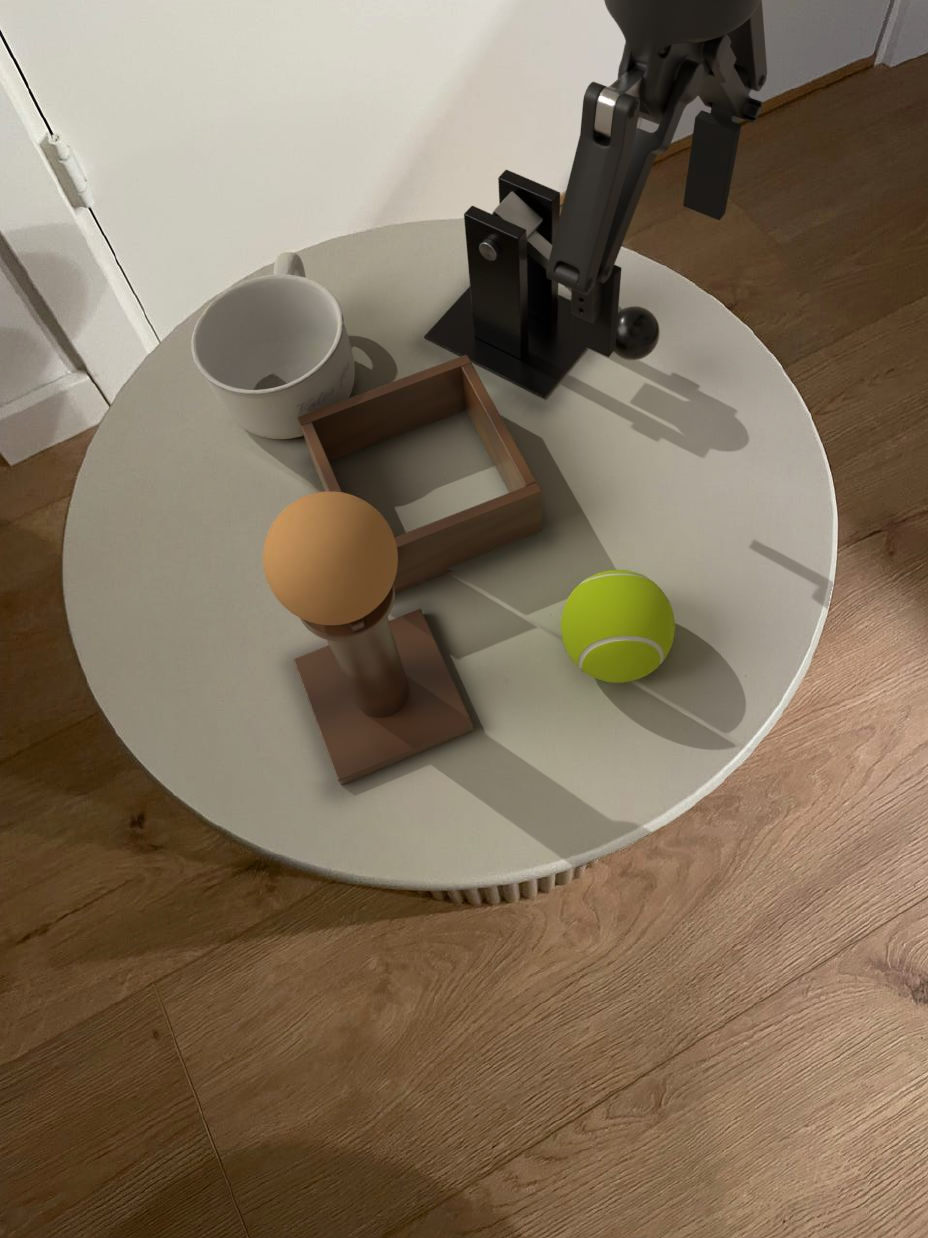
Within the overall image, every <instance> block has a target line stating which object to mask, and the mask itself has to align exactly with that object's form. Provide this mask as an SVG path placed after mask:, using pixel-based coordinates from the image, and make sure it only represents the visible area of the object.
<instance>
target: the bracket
mask: <svg viewBox="0 0 928 1238" xmlns="http://www.w3.org/2000/svg"><path fill="white" fill-rule="evenodd" d="M497 182H498V205H499V204H500V203H501V202H502V201H503V200H504V199H505V198H506V197H507V196H508V195H509V194H510V192H512V191H513V192H514V193H515V194H516V195H517V196H518V197H519V198H521V199H522V200H523V201H524V202H525V203H526V204H527V205H528V206H529V207H530V208H532V209H533V210H534V211H535V212H536V213H537V214H538V215H539V216H540V217H541V218H542V219H543V221H542V222H541V224H540V225H539V227H538V228H537V230H536V231H537V232H538V233H539V234H540V235H541V236H542V237H543V238H545V239H546V240H547V241H548V242H549V243H550V244H551V245H552V246H553V242H554V238H555V234H556V230H557V226H558V222H559V218H560V214H561V192H560V191H557V190H556V189H553V188H551V187H548V186H546V185H544V184H541V183H539V182H537V181H535V180H532V179H529V178H527V177H525V176H523V175H521V174H518V173H515V172H513V171H511V170H509V169H504V171H503V172H501V174H500V175H499V176H498V178H497ZM463 221H464V233H465V243H466V256H467V257H466V258H467V268H468V278H469V286H468V287H467V288H466V290H465V291H464V292H463V293H462V294H461V295H460V296H459V297H458V299H456V301H455V302H454V303H453V304H451V306H450V307H449V308H448V310H446V311H445V313H444V314H443V315H442V316H441V317H440V318H439V319H438V320H437V322H436V323H434V325H433V326H432V327H431V328H430V329H429V330H428V331H427V333H426V334H425V335H423V338H424V339H425V340H427V341H428V342H430V343H433V344H435V345H436V346H438V347H440V348H442V349H444V350H446V351H448V352H450V353H452V354H454V355H456V356H457V357H461V356H464V355H468V357H469V359H470V361H471V363H472V364H474V365H476V366H477V367H480V368H481V369H484V370H485V371H488V372H490V373H491V374H493V375H496V376H498V377H499V378H502V379H503V380H505V381H507V382H510V383H511V384H513V385H515V386H517V387H519V388H521V389H523V390H525V391H527V392H529V393H531V394H532V395H535V396H536V397H539V398H541V399H543V400H544V399H545V398H546V397H547V396H548V394H549V393H551V391H552V390H553V389H554V388H555V386H556V385H557V384H558V383H559V381H560V380H561V379H562V377H564V375H565V374H566V373H567V372H568V371H569V369H570V368H571V367H572V365H573V364H574V363H575V362H576V361H577V360H578V358H579V357H580V355H582V353H583V352H584V351H585V349H586V348H587V347H585V346H583V345H581V344H578V343H576V342H574V341H572V340H571V318H572V312H571V299H569V298H567V297H564V296H563V295H561V294H559V283H557V282H555V281H553V280H551V279H548V278H547V277H546V269H545V268H544V267H543V266H542V265H540V264H539V263H538V262H537V261H536V260H535V259H534V258H533V257H532V256H531V255H529V254H528V253H527V232H526V229H524V228H522V227H519V226H517V225H515V224H513V223H510V222H508V221H506V220H504V219H501V218H499V217H497V216H495V215H493V214H492V213H491V212H488V211H486V210H483V209H481V208H479V207H477V206H475V205H470V207H469V208H468V209H467V210H466V211H465V212H464V214H463Z"/></svg>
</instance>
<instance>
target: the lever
mask: <svg viewBox="0 0 928 1238" xmlns="http://www.w3.org/2000/svg"><path fill="white" fill-rule="evenodd" d="M491 214H493V215H495V216H497V217H499V218H501V219H504V220H506V221H508V222H510V223H513V224H515V225H517V226H519V227H522V228H524V229H526V232H527V253H528V254H529V255H531V256H532V257H533V258H534V259H535V260H536V261H537V262H538V263H539V264H540V265H542V266H543V267H544V268H545V269H546V270H547V266H548V262H549V258H550V254H551V250H552V245H551V244H550V243H549V242H548V241H547V240H546V239H545V238H543V237H542V236H541V235H540V234H539V233H538V232H537V231H536V230H537V228H538V227H539V225H540V224H541V222H542V221H543V219H542V218H541V217H540V216H539V215H538V214H537V213H536V212H535V211H534V210H533V209H532V208H530V207H529V206H528V205H527V204H526V203H525V202H524V201H523V200H522V199H521V198H519V197H518V196H517V195H516V194H515V193H514V192H513V191H512V192H510V194H509V195H508V196H507V197H506V198H505V199H504V200H503V201H502V202H501V203H500V204H499V203H498V205H497V206H496V207H495V208H494V209H493V211H492V213H491ZM564 288H566V289H567V290H568V291H569V292H570V293H571V288H568V287H566V286H564ZM659 324H660V323H659V322H658V319H657V318H656V316H655V315H654V313H652V312H651V311H650V310H649V309H647V308H645V307H642V306H638V305H633V306H627V307H624V308H622V307H621V306H620V305H619V306H618V319H617V332H616V345H615V350H614V352H613V354H614V355H616V357H618V358H620V359H622V360H626V361H632V362H633V361H640V360H642V359H644V358H646V357H648V356H649V355H650V354H651V353H652V352H653V351H654V350H655V348H656V347H657V345H658V343H659V339H660V334H661V330H660V325H659Z"/></svg>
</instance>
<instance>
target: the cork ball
mask: <svg viewBox="0 0 928 1238" xmlns="http://www.w3.org/2000/svg"><path fill="white" fill-rule="evenodd" d="M394 537H395V536H394V533H393V530H392V528H391V526H390V525H389V523H388V521H387V520H386V519H385V518H384V516H383V514H382V513H380V511H378V509H376V508H375V507H374V506H373V505H372V504H370V503H368V501H366V500H364V499H363V498H360V497H358V496H355V495H353V494H351V493H346V492H343V491H342V492H330V491H326V492H325V491H318V492H313V493H310V494H307V495H304V496H302V497H300V498H298V499H296V500H294V501H293V502H291V503H290V504H288V505H287V506H286V507H285V508H284V509H283V510H282V511H281V512H280V513H279V514H278V515H277V516H276V517H275V519H274V520H273V522H272V523H271V525H270V527H269V529H268V531H267V534H266V537H265V540H264V545H263V550H262V564H263V565H262V566H263V572H264V576H265V579H266V582H267V584H268V586H269V589H270V591H271V593H272V594H273V595H274V596H275V599H277V601H278V602H279V603H280V604H281V606H283V607H284V608H285V609H286V610H287V611H289V612H290V613H291V614H293V615H294V616H296V617H297V618H299V619H300V618H301V619H304V620H306V621H308V622H312V623H315V624H321V625H342V624H347V623H350V622H353V621H356V620H358V619H361V618H363V617H364V616H366V615H368V614H369V613H370V612H372V611H373V610H374V609H376V608H377V607H378V606H379V605H380V604H381V603H382V601H383V600H384V599H385V598H386V596H387V595H388V593H389V591H390V589H391V587H392V585H393V582H394V580H395V576H396V573H397V565H398V552H397V546H396V541H395V538H394ZM301 619H300V620H301Z"/></svg>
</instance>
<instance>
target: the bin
mask: <svg viewBox="0 0 928 1238" xmlns="http://www.w3.org/2000/svg"><path fill="white" fill-rule="evenodd" d="M462 412H466V414H467V416H468V418H469V419H470V422H471V423H472V425H473V427H474V429H475V431H476V433H477V435H478V437H479V438H480V441H481V442H482V444H483V446H484V449H485V450H486V452H487V454H488V455H489V457H490V460H491V461H492V463H493V465H494V467H495V469H496V470H497V473H498V474H499V476H500V478H501V480H502V482H503V484H504V486H505V488H506V490H507V491H508V493H505V494H503V495H500V496H497V497H494V498H492V499H489V500H487V501H483V502H482V503H479V504H476V505H473V506H471V507H469V508H466V509H464V510H461V511H459V512H456V513H454V514H451V515H449V516H446V517H444V518H443V517H442V518H441V519H438V520H435V521H433V522H431V523H427V524H425V525H423V526H420V527H417V528H415V529H412V530H410V531H407V532H405V533H402V534H400V535H397V536H394V538H395V541H396V546H397V552H398V565H397V573H396V576H395V580H394V582H393V584H394V589H395V595H396V594H400V593H401V592H404V591H406V590H409V589H411V588H414V587H417V586H419V585H421V584H424V583H426V582H429V581H431V580H435V579H437V578H439V577H442V576H444V575H447V574H449V573H452V572H453V571H452V570H450V569H449V568H451V567H454V566H456V565H458V564H462V563H464V562H467V561H468V560H471V559H474V558H476V557H479V556H481V555H484V554H486V553H490V552H492V551H494V550H496V549H498V548H502V547H504V546H507V545H509V544H512V543H514V542H517V541H519V540H522V539H525V538H527V537H529V536H532V535H536V534H537V533H539V532H542V530H543V492H542V491H543V490H542V488H541V487H540V485H539V483H538V482H537V480H536V478H535V476H534V475H533V473H532V471H531V469H530V467H529V465H528V464H527V462H526V459H525V458H524V456H523V454H522V452H521V451H520V449H519V446H518V445H517V443H516V441H515V439H514V438H513V436H512V434H511V432H510V430H509V429H508V427H507V425H506V424H505V421H504V419H503V417H502V416H501V414H500V412H499V411H498V409H497V407H496V405H495V404H494V401H493V400H492V398H491V396H490V393H489V392H488V390H487V389H486V387H485V385H484V383H483V382H482V380H481V378H480V376H479V374H478V372H477V370H476V369H475V367H474V365H473V363H472V362H471V361H470V359H469V357H468V355H464V356H461V357H460V356H458V357H456V358H453V359H450V360H448V361H445V362H442V363H440V364H437V365H435V366H432V367H430V368H426V369H424V370H421V371H418V372H415V373H412V374H409V375H407V376H405V377H402V378H400V379H397V380H394V381H391V382H389V383H386V384H383V385H380V386H378V387H374V388H373V389H370V390H367V391H364V392H361V393H359V394H356V395H353V396H351V397H350V396H349V398H348V399H345V400H342V401H340V402H337V403H334V404H331V405H329V406H326V407H323V408H321V409H318V410H315V411H313V412H310V413H307V414H304V415H302V416H299V417H297V418H298V421H299V424H300V427H301V430H302V433H303V436H302V437H303V438H304V442H305V444H306V447H307V450H308V452H309V456H310V458H311V462H312V464H313V466H314V468H315V470H316V473H317V475H318V477H319V480H320V483H321V484H322V487H323V489H324V492H326V491H330V492H343V491H342V488H341V486H340V483H339V481H338V479H337V477H336V475H335V472H334V470H333V468H332V466H331V463H330V462H331V461H334V460H337V459H340V458H342V457H345V456H347V455H351V454H353V453H355V452H358V451H361V450H363V449H364V450H365V449H366V448H369V447H371V446H375V445H377V444H379V443H382V442H385V441H388V440H391V439H394V438H395V437H398V436H401V435H403V434H406V433H409V432H411V431H414V430H417V429H420V428H422V427H425V426H428V425H430V424H433V423H435V422H438V421H440V420H443V419H446V418H449V417H451V416H454V415H457V414H459V413H462Z"/></svg>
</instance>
